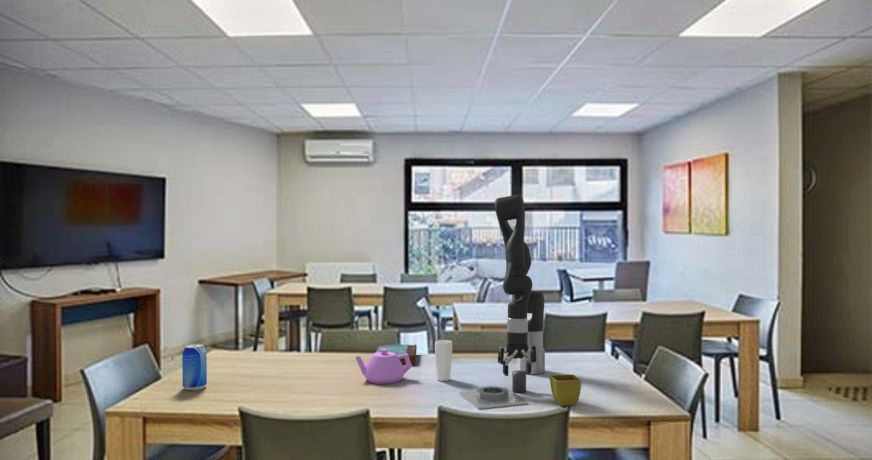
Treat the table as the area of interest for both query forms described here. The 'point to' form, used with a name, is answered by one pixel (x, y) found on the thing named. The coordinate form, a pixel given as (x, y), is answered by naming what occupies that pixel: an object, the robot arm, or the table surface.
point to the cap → (519, 381)
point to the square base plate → (492, 397)
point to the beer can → (194, 367)
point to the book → (401, 351)
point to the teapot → (384, 367)
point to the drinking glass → (443, 359)
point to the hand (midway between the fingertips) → (517, 374)
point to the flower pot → (565, 389)
